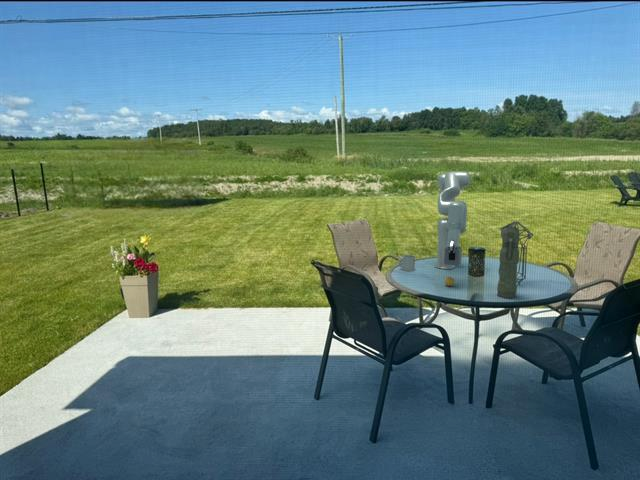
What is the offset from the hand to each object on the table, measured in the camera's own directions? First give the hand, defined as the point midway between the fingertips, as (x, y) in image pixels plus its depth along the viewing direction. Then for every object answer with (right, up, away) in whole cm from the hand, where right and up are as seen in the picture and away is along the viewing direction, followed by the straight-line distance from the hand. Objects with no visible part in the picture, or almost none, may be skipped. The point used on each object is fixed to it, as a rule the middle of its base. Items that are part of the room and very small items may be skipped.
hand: (453, 258), depth 242 cm
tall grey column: (+23, -19, -15) cm, 33 cm away
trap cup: (0, -3, +1) cm, 3 cm away
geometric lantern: (+35, -15, +8) cm, 39 cm away
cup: (-17, -9, +40) cm, 44 cm away
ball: (-1, -13, +3) cm, 13 cm away
